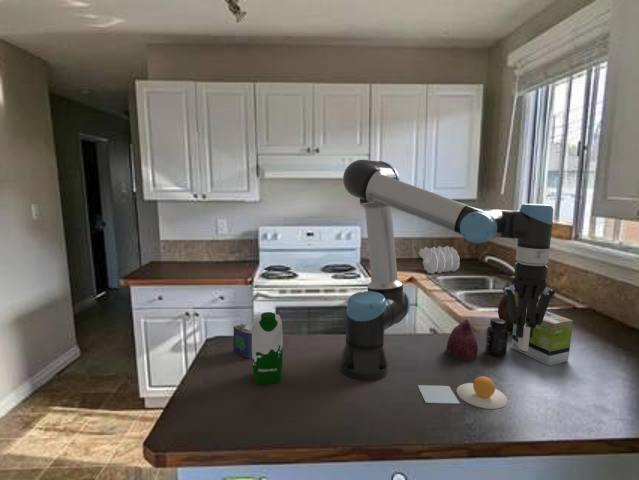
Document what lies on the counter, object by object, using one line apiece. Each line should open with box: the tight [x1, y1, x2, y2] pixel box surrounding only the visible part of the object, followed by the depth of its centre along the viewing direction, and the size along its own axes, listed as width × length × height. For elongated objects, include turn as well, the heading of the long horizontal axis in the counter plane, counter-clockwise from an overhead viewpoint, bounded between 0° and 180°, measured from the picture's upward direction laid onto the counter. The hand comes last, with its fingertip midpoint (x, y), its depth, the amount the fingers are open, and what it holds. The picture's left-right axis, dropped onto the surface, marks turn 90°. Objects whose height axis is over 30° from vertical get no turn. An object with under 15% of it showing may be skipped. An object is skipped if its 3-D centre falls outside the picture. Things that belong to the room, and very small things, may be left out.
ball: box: [472, 375, 496, 398], centre depth 108 cm, size 6×6×6 cm
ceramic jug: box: [497, 290, 540, 335], centre depth 157 cm, size 17×15×30 cm
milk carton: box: [251, 311, 284, 386], centre depth 114 cm, size 9×9×20 cm
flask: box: [232, 323, 252, 360], centre depth 130 cm, size 9×3×11 cm, turn 50°
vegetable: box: [445, 318, 479, 362], centre depth 133 cm, size 10×10×15 cm
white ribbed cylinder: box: [418, 245, 461, 275], centre depth 261 cm, size 18×18×25 cm
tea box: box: [510, 310, 574, 366], centre depth 136 cm, size 15×10×15 cm, turn 23°
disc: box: [456, 382, 508, 410], centre depth 109 cm, size 13×13×1 cm
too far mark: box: [417, 384, 461, 405], centre depth 109 cm, size 9×9×1 cm
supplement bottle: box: [484, 317, 509, 359], centre depth 136 cm, size 7×7×12 cm
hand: (522, 348), depth 107 cm, fingers closed
